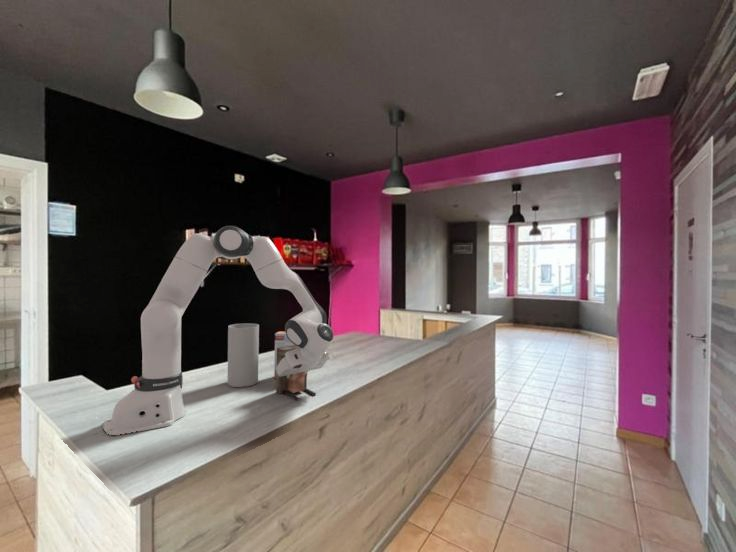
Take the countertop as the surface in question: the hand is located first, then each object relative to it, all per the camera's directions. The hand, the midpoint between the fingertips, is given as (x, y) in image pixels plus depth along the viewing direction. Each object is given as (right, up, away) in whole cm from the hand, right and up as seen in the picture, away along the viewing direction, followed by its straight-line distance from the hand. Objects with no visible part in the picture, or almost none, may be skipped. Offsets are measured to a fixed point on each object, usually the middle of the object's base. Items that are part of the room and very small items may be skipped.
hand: (295, 375), depth 139 cm
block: (0, -6, 0) cm, 6 cm away
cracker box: (-6, -7, +18) cm, 20 cm away
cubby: (+2, -7, -2) cm, 7 cm away
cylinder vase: (-25, -6, +9) cm, 27 cm away
